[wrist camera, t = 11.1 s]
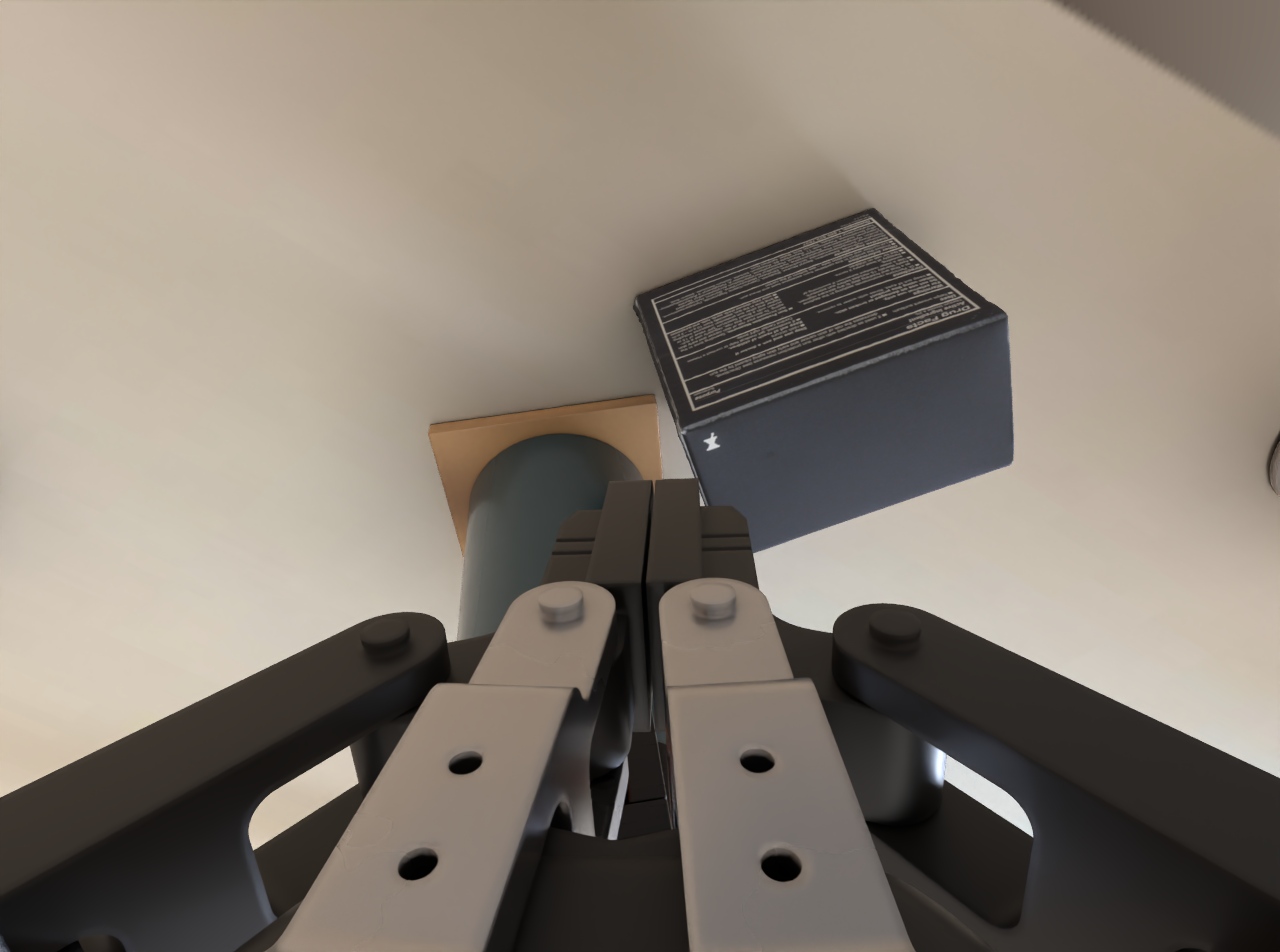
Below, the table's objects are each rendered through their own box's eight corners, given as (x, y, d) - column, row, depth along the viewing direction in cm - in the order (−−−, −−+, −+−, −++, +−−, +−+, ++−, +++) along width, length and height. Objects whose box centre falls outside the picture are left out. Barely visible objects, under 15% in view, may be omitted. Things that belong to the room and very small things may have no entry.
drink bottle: (428, 383, 32) (295, 1048, 13) (638, 354, 33) (807, 957, 14) (485, 590, 39) (452, 1225, 20) (658, 564, 40) (789, 1160, 20)
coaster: (429, 424, 34) (427, 434, 34) (654, 393, 35) (656, 402, 34) (476, 589, 40) (475, 600, 39) (668, 560, 41) (670, 571, 40)
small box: (675, 420, 36) (724, 574, 27) (628, 294, 32) (668, 428, 23) (898, 340, 35) (1021, 474, 26) (877, 201, 31) (1013, 304, 23)
